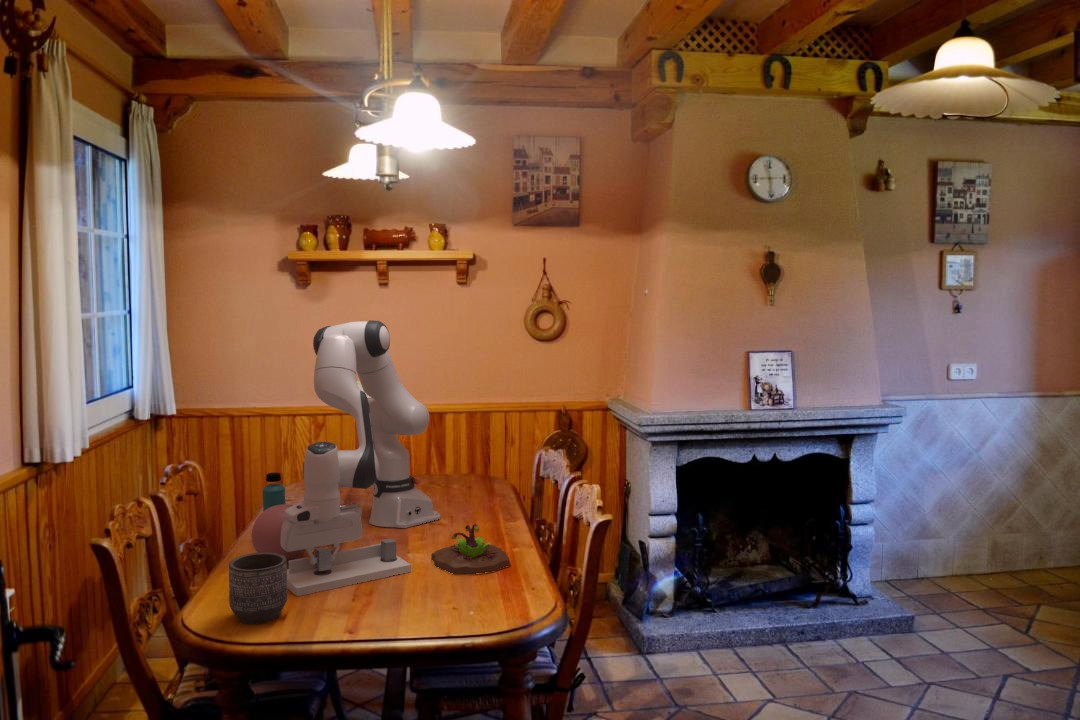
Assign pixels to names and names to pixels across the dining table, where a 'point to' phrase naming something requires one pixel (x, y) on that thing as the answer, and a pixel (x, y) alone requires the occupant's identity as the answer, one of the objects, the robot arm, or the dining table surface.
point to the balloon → (272, 532)
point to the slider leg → (323, 558)
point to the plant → (470, 555)
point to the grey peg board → (346, 568)
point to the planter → (258, 587)
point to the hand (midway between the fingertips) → (322, 562)
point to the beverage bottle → (273, 491)
